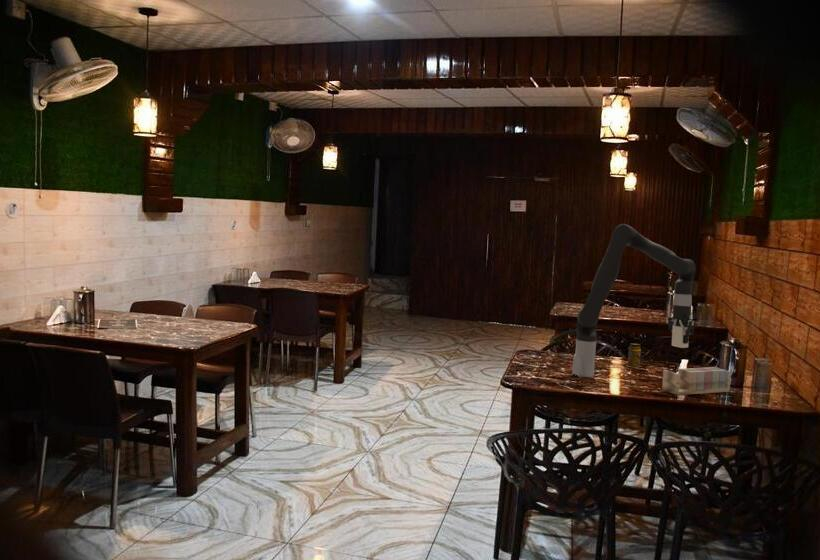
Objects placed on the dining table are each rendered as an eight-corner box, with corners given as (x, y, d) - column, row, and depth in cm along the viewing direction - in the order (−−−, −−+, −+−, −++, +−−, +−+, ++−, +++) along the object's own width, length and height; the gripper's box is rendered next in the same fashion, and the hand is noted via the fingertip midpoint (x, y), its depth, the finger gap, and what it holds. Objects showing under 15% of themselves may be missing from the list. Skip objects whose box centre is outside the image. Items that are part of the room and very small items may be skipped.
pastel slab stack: (729, 391, 293) (730, 370, 292) (676, 394, 282) (678, 373, 282) (713, 386, 301) (715, 366, 301) (661, 389, 291) (663, 368, 290)
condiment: (642, 368, 338) (644, 345, 337) (627, 367, 336) (629, 345, 335) (636, 365, 345) (637, 342, 344) (621, 364, 344) (622, 342, 343)
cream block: (681, 347, 284) (682, 327, 284) (671, 345, 290) (672, 325, 289) (688, 347, 286) (689, 327, 285) (678, 345, 291) (679, 325, 290)
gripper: (663, 302, 292) (661, 339, 293) (688, 306, 278) (685, 345, 279) (676, 302, 294) (674, 339, 296) (701, 306, 281) (699, 344, 282)
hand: (680, 342), depth 288 cm, fingers closed on cream block, 5 cm apart
